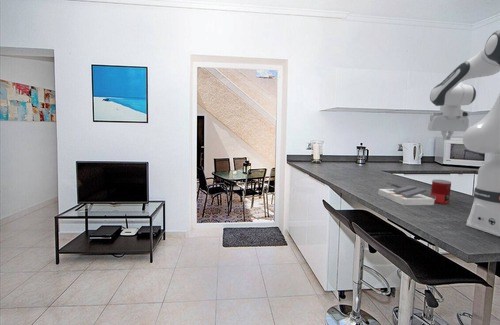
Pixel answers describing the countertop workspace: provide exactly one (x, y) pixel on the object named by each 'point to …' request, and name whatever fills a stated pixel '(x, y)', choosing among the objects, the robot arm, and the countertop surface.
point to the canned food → (441, 191)
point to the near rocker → (413, 192)
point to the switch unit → (403, 200)
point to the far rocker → (393, 185)
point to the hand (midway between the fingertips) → (446, 140)
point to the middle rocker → (404, 189)
